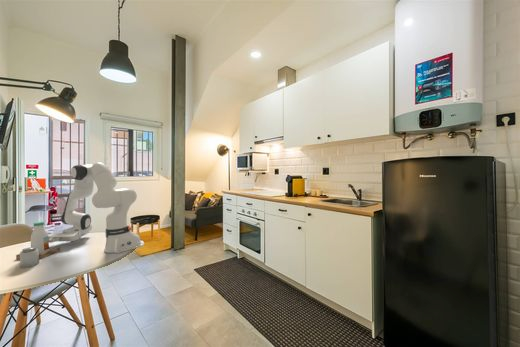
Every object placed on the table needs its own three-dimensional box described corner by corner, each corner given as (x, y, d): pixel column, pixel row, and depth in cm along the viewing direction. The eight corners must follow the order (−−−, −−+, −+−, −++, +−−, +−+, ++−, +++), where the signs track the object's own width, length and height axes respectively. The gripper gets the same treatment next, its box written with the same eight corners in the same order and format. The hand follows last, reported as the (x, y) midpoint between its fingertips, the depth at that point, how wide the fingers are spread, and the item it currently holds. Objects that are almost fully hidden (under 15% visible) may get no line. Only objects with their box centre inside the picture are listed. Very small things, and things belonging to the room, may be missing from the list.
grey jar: (40, 261, 122) (39, 245, 121) (37, 265, 116) (37, 248, 116) (22, 264, 117) (21, 248, 117) (18, 269, 112) (18, 252, 112)
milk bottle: (38, 257, 127) (37, 224, 127) (27, 256, 128) (25, 224, 127) (52, 251, 135) (51, 220, 134) (41, 251, 135) (40, 220, 135)
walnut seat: (39, 250, 137) (39, 247, 137) (60, 250, 136) (59, 247, 136) (16, 259, 124) (16, 255, 124) (39, 259, 124) (39, 255, 124)
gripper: (54, 230, 151) (33, 236, 137) (82, 230, 150) (64, 236, 136) (55, 238, 151) (33, 246, 137) (83, 239, 150) (64, 246, 136)
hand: (49, 241), depth 137 cm, fingers closed
